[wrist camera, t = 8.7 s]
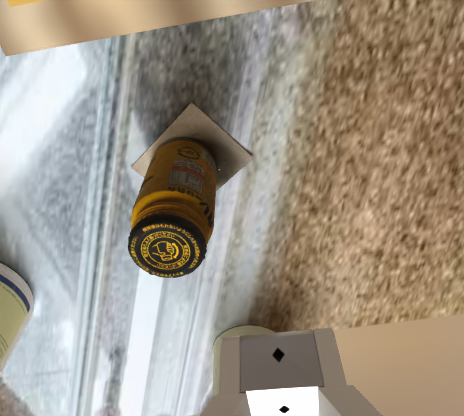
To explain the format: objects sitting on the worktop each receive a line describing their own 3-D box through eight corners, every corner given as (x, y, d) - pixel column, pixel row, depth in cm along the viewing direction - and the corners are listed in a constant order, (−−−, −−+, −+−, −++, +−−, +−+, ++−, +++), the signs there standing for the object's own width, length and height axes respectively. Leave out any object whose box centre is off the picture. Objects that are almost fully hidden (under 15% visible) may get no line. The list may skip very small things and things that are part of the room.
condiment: (131, 166, 36) (93, 252, 26) (191, 101, 32) (175, 172, 23) (191, 212, 39) (178, 305, 29) (253, 156, 35) (262, 240, 25)
